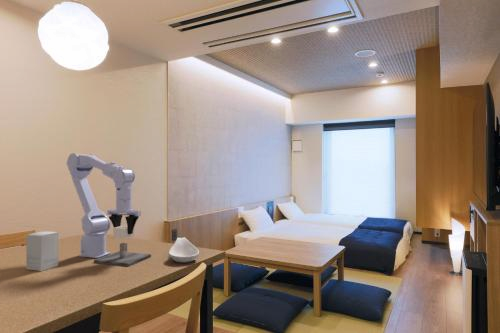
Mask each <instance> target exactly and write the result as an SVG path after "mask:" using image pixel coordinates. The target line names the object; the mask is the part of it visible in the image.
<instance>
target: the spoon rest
mask: <svg viewBox="0 0 500 333" xmlns="http://www.w3.org/2000/svg"><path fill="white" fill-rule="evenodd" d="M199 254H200V250H199V249H198V248H197V247H196V246H195V245H194V244H193V243H192V242H190V241H189V239H187V238H186V237H185V236H184V237H177V238H176V240H175V242H174V243H173V244H172V246H171V248H170V249H169V252H168V255H169V257H170V259H171V260H172V261H174V262H176V263H182V264H183V263H184V264H185V263H187V264H188V263H190V262H192V261H194V260H196V259H197V257H199Z"/></svg>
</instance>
